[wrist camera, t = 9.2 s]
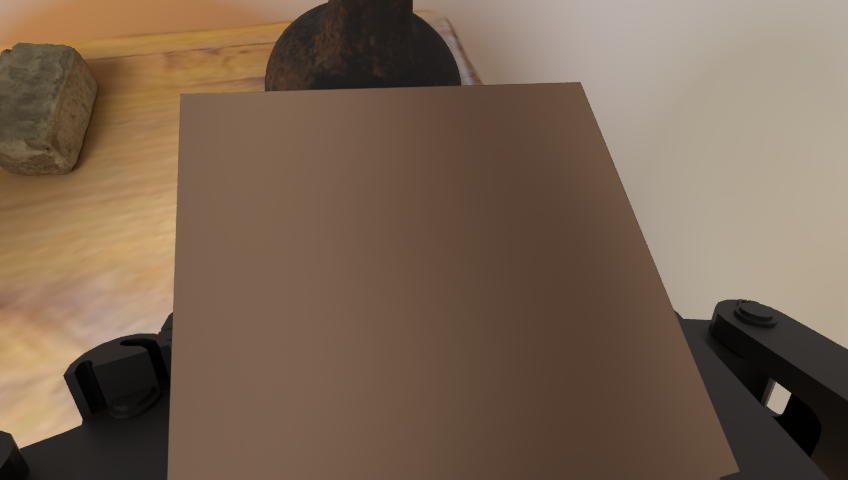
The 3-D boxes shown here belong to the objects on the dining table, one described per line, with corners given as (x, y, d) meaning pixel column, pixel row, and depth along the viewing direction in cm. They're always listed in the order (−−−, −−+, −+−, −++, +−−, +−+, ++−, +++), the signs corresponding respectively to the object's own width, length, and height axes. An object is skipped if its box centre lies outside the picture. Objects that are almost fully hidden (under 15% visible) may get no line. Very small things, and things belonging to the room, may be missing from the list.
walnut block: (306, 477, 14) (160, 676, 3) (293, 308, 16) (180, 93, 6) (470, 440, 16) (749, 496, 5) (439, 287, 18) (580, 81, 7)
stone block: (105, 80, 42) (75, 40, 37) (79, 180, 37) (42, 149, 33) (38, 76, 40) (-1, 34, 36) (4, 179, 36) (-45, 146, 32)
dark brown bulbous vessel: (283, 218, 39) (168, -140, 14) (271, 71, 45) (177, -364, 20) (461, 201, 43) (626, -99, 18) (428, 68, 49) (516, -295, 24)
